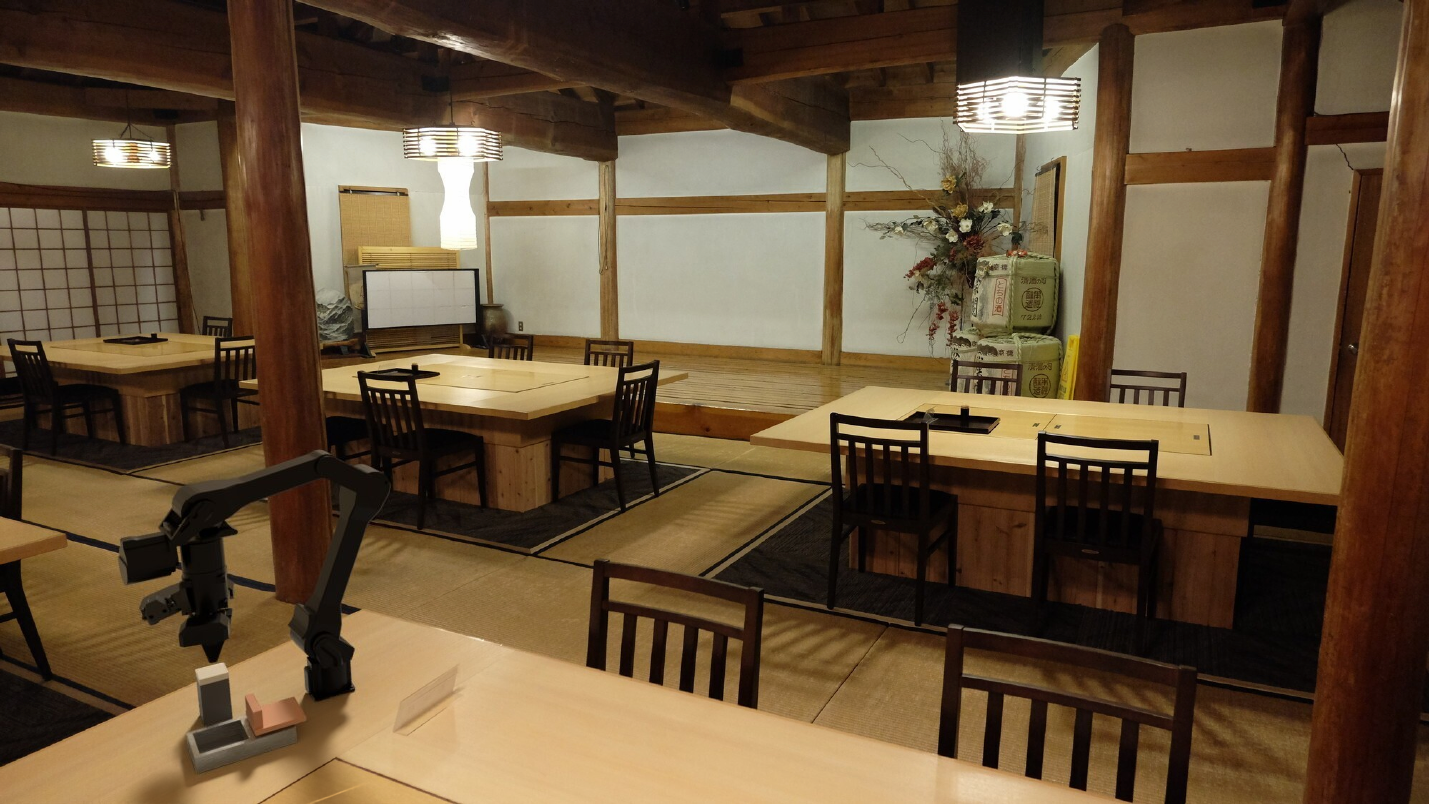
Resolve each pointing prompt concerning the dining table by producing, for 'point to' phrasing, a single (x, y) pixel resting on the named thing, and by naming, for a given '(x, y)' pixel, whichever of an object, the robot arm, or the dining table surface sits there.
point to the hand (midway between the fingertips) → (213, 661)
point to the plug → (214, 694)
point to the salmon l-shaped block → (272, 714)
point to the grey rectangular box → (233, 743)
